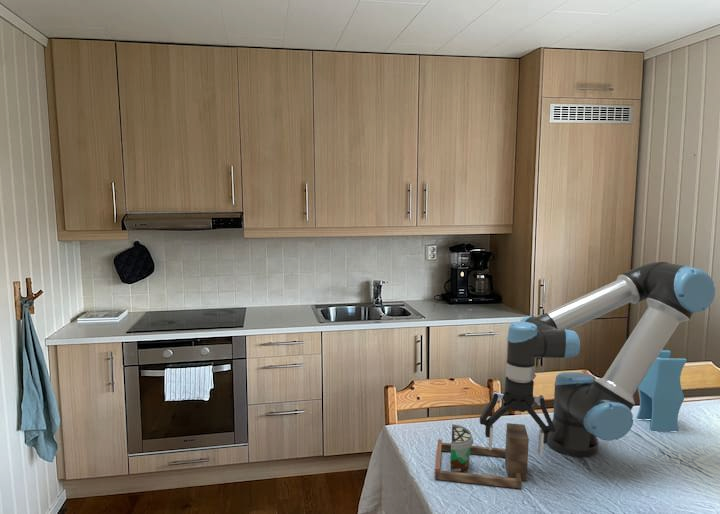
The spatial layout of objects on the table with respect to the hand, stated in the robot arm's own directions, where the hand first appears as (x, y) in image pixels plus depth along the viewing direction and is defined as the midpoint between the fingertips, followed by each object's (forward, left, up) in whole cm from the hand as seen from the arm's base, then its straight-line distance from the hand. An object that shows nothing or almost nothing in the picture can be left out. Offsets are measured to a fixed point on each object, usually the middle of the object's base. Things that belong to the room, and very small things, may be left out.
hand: (514, 450), depth 144 cm
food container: (+15, 0, -7) cm, 16 cm away
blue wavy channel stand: (-51, -41, -7) cm, 66 cm away
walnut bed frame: (+9, 0, -6) cm, 11 cm away
